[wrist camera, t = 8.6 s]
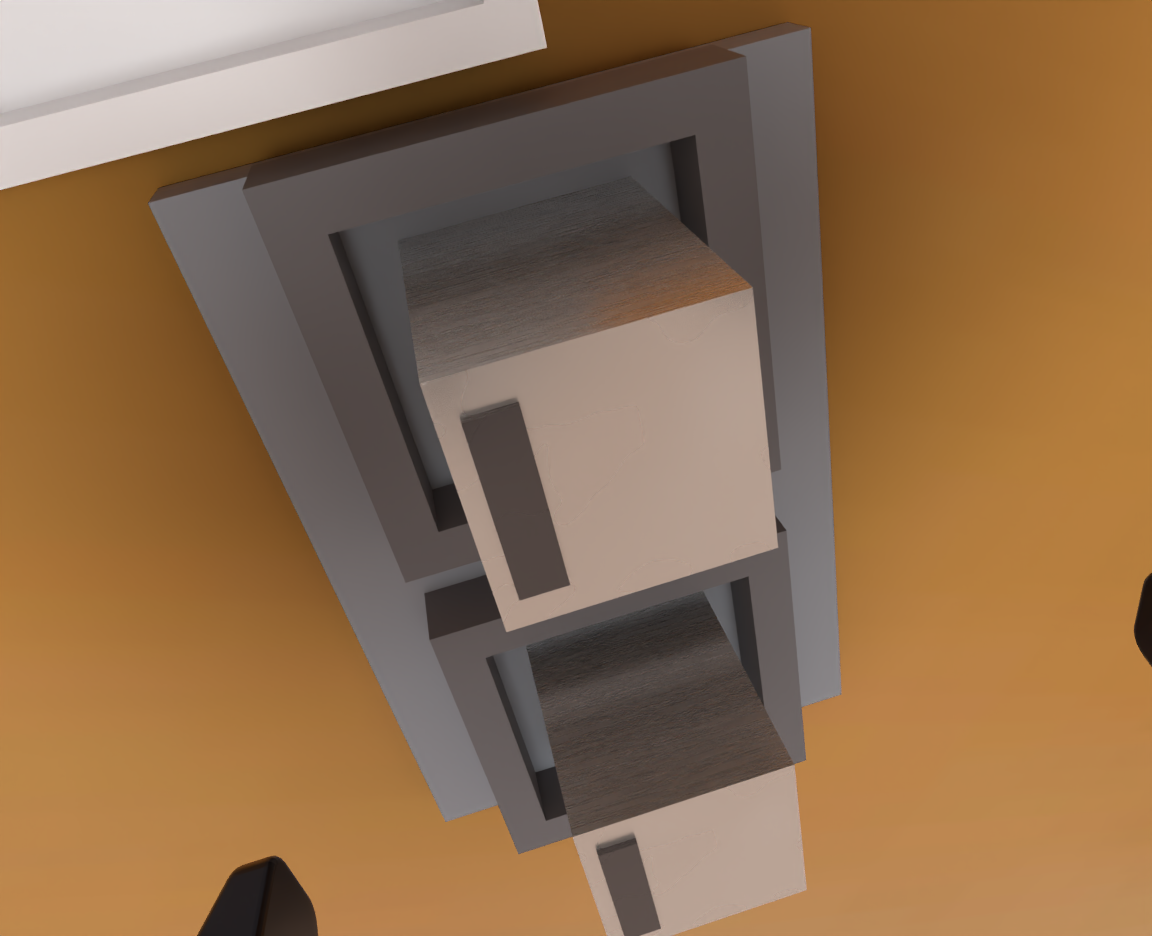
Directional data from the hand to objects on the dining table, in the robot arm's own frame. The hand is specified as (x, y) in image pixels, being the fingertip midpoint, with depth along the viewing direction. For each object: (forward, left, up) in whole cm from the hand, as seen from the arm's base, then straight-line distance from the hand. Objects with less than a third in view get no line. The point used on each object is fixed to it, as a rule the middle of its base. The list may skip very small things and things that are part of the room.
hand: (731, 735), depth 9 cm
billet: (0, +10, -11) cm, 15 cm away
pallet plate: (0, +5, -12) cm, 13 cm away
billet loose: (0, 0, -11) cm, 11 cm away
